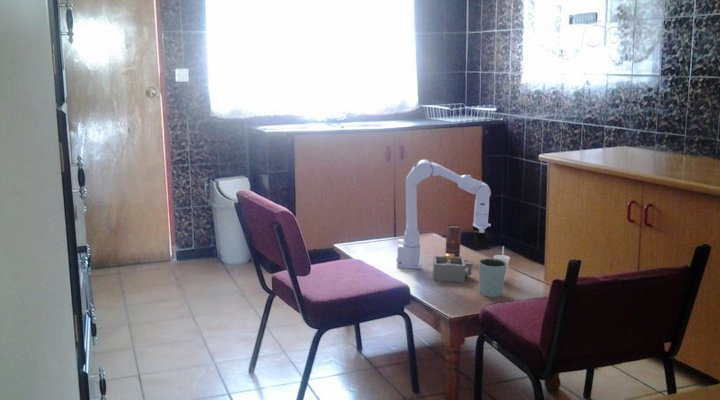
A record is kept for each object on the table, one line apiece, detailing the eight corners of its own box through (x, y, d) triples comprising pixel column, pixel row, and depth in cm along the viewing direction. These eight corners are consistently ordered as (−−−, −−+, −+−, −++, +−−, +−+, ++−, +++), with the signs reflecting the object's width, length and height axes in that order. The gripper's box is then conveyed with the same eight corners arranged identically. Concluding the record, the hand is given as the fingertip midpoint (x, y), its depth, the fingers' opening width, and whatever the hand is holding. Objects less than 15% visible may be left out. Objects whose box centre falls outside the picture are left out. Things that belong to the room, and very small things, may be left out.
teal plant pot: (485, 287, 276) (487, 256, 274) (509, 293, 270) (512, 262, 267) (471, 293, 268) (474, 262, 266) (496, 300, 262) (498, 267, 260)
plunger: (437, 270, 283) (438, 257, 282) (437, 263, 292) (437, 251, 291) (460, 271, 282) (461, 258, 281) (459, 264, 291) (460, 252, 290)
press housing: (433, 280, 282) (434, 264, 281) (432, 271, 294) (433, 255, 293) (471, 282, 281) (472, 266, 280) (469, 273, 293) (470, 257, 292)
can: (459, 260, 311) (461, 228, 309) (444, 258, 313) (446, 227, 310) (460, 256, 317) (462, 224, 314) (445, 255, 318) (447, 223, 316)
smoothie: (498, 284, 280) (500, 249, 277) (488, 279, 286) (490, 244, 283) (511, 282, 283) (514, 247, 280) (501, 277, 289) (503, 243, 286)
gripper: (493, 217, 286) (490, 251, 289) (489, 209, 301) (487, 241, 303) (475, 216, 287) (472, 250, 290) (472, 209, 301) (470, 240, 304)
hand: (479, 245), depth 296 cm, fingers open, 7 cm apart
